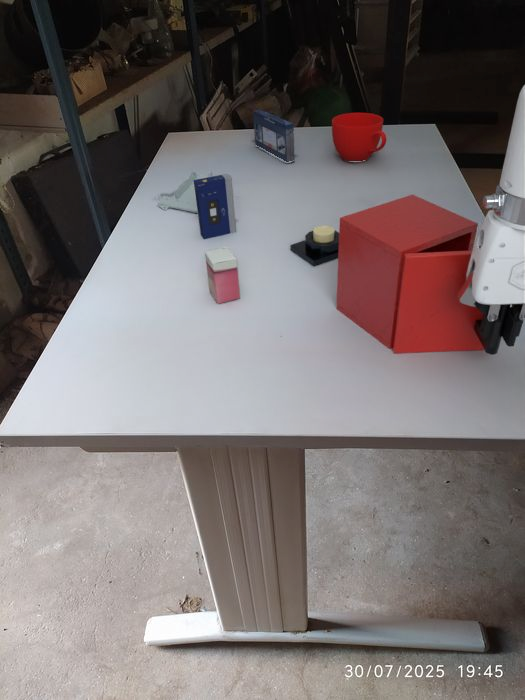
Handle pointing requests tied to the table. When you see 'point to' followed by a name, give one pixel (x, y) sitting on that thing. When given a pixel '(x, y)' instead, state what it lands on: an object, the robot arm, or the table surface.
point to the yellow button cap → (323, 234)
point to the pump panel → (316, 249)
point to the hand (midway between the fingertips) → (497, 339)
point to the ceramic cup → (357, 135)
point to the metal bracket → (183, 195)
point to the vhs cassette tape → (274, 135)
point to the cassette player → (215, 205)
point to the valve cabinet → (390, 256)
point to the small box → (222, 274)
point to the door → (438, 306)
